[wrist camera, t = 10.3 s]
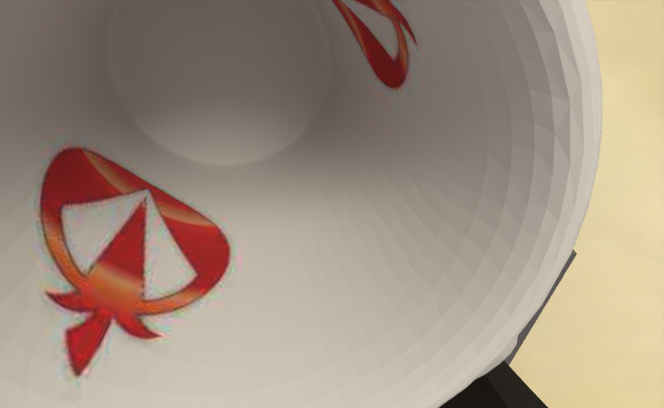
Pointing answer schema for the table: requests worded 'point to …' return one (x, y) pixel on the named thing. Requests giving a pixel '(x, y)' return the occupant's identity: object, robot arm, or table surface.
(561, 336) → the table surface
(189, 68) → the cup
